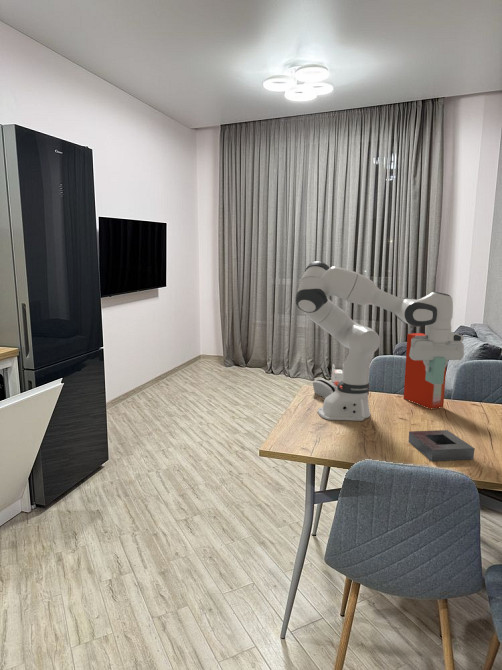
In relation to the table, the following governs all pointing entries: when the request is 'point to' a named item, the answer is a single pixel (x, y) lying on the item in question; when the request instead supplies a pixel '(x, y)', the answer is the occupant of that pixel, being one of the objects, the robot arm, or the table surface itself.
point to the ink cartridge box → (336, 375)
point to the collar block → (441, 445)
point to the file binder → (421, 382)
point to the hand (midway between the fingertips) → (434, 371)
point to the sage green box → (436, 370)
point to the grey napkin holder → (323, 387)
